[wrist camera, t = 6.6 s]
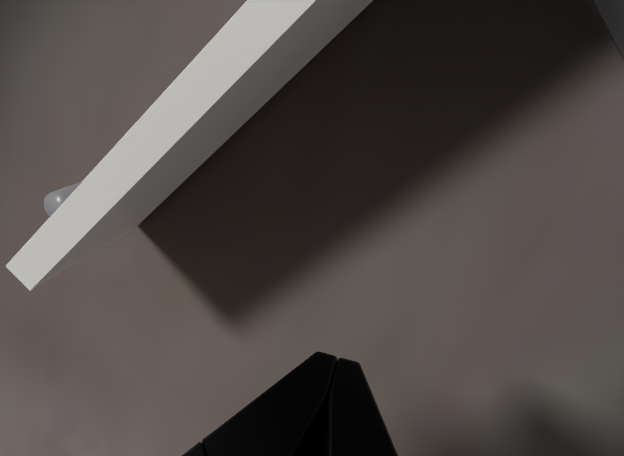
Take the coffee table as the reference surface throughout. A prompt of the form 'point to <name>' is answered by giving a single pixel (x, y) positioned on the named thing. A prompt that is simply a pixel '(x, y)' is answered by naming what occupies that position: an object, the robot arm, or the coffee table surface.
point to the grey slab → (613, 19)
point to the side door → (182, 129)
